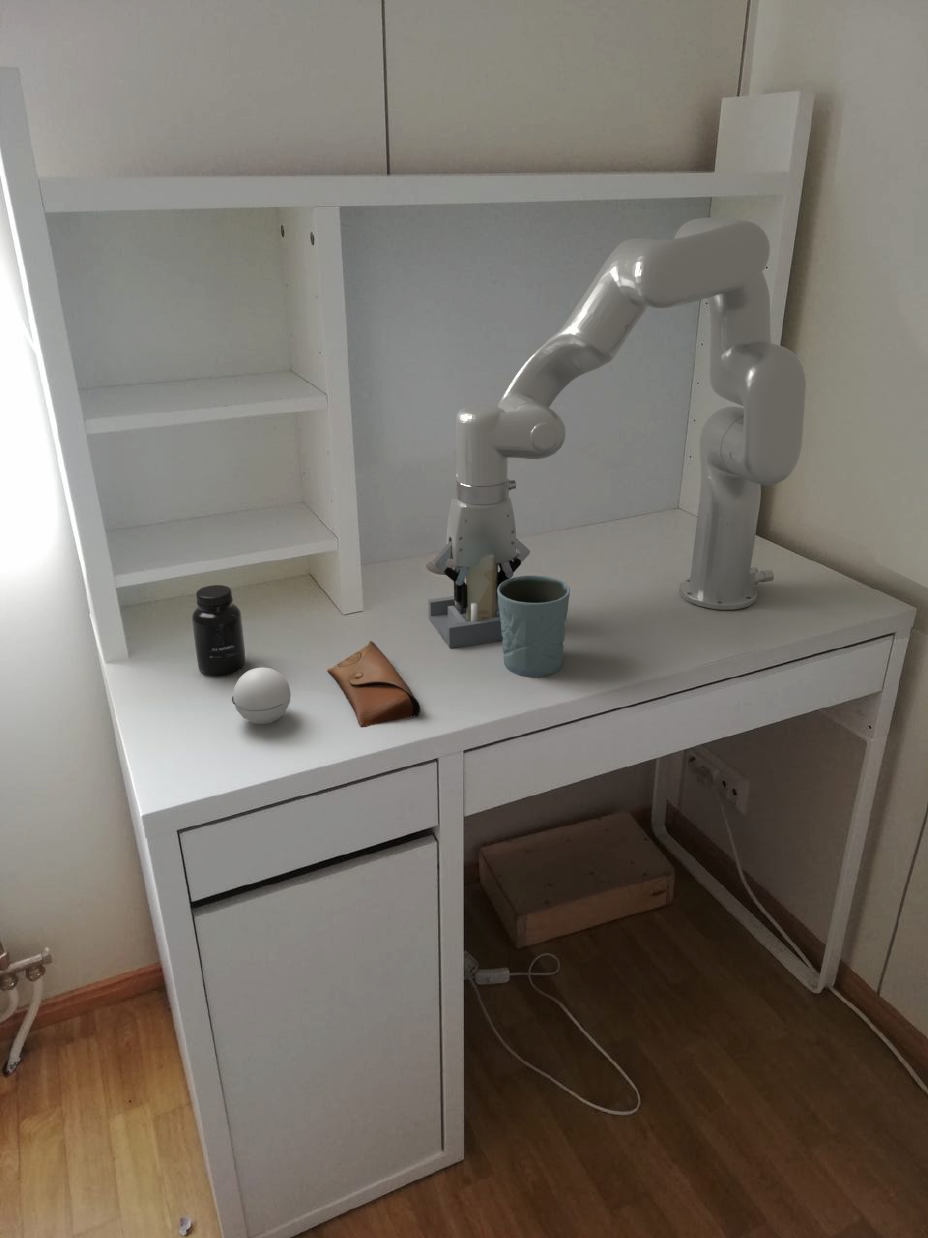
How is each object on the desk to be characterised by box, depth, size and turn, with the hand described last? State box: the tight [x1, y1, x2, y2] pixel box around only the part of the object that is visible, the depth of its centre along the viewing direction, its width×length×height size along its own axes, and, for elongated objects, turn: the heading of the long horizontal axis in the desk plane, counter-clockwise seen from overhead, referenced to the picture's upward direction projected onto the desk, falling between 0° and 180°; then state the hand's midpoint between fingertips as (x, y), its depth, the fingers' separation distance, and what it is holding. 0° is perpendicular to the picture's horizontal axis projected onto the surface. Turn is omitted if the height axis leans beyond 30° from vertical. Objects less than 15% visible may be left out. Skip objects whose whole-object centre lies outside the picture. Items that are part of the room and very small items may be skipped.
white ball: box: [231, 667, 292, 725], centre depth 117 cm, size 10×7×7 cm
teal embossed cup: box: [497, 574, 571, 678], centre depth 130 cm, size 10×10×12 cm
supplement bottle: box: [191, 584, 247, 677], centre depth 130 cm, size 7×7×12 cm
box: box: [465, 555, 499, 621], centre depth 141 cm, size 5×4×11 cm
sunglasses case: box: [327, 640, 421, 728], centre depth 126 cm, size 18×7×7 cm
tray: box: [427, 595, 503, 649], centre depth 143 cm, size 14×11×6 cm
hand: (482, 600), depth 142 cm, fingers closed on box, 6 cm apart
